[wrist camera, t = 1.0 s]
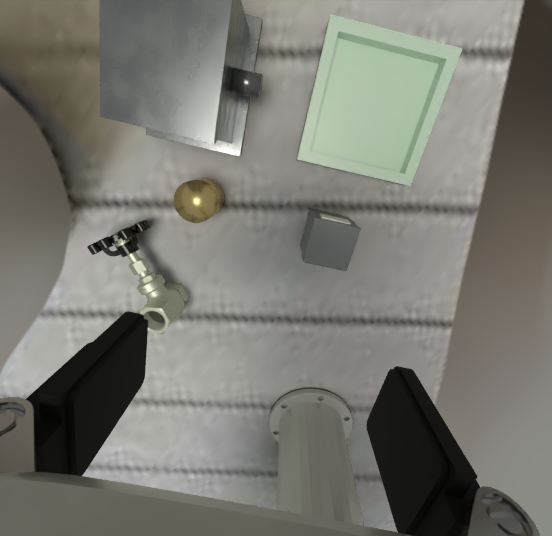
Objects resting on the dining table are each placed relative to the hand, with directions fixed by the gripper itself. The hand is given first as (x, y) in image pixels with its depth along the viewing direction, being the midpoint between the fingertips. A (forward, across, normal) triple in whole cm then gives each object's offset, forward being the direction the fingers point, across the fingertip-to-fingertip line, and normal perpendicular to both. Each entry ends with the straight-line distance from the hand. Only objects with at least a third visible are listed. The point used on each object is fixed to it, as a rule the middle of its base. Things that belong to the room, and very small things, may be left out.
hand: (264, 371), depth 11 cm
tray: (+24, -6, -14) cm, 29 cm away
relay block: (+24, -5, -1) cm, 25 cm away
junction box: (+24, +11, -13) cm, 30 cm away
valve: (+25, +14, +8) cm, 29 cm away
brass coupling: (+24, +9, -2) cm, 26 cm away
